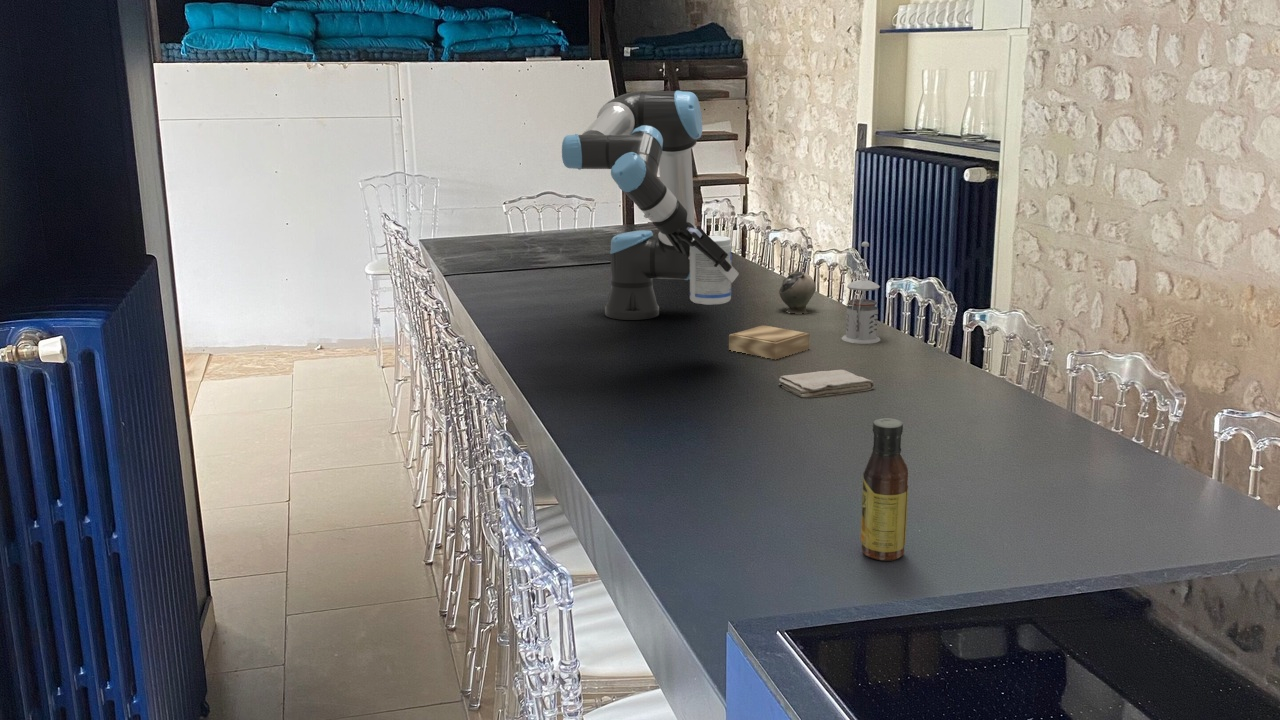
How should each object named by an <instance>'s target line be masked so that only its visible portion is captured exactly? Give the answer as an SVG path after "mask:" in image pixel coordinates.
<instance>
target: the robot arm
mask: <svg viewBox="0 0 1280 720" xmlns="http://www.w3.org/2000/svg"><path fill="white" fill-rule="evenodd" d="M700 104H701V103H700V101H699V98H698V96H697V95H696V94H695V93H694V92H691V91H681V90H675V91H672V90H671V91H670V90H669V91H666V90H665V91H664V90H663V91H662V90H660V91H658V90H657V91H653V90H652V91H641V90H637V91H636V90H635V91H630V92H628V93H624V94H621V95H618V96H617V97H614V98H612V99H611V100H609V101H607V102H606V103H605V104H603V106H601V108H600V109H599V110H598V112H597V115H596V119H595V120H594V121H593V122H592V123H591V124H590V125H589V126H588V127H587V128H586V130H585V131H584V132H582V134H578V133H575V134H567V135H565V136H564V137H563V140H562V142H561V160H562V163H563V165H564V167H565V168H566V169H567V168H568V169H572V170H573V169H574V170H575V169H576V170H577V169H578V170H579V171H581V170H610V176H611V178H612V179H613V181H614V182H615V183H616V185H617V186H618V188H619V189H620V190H621V191H622V192H624V193H625V194H626V195H627V197H628V198H629V199H630V200H631V201H632V202H633V203H634V204H635V205H636V206H637V208H638V209H639V210H640V211H641V212H642V213H643V214H644V215H643V217H644V218H645V219H649V221H650V222H652V225H653V226H655V228H656V229H657V230H658V231H659V232H658V236H655V235H654V233H653V231H652V230H650V229H649V230H645V229H644V230H635V231H627V232H622V233H618V234H616V235H614V236H613V237H612V238H611V239H610V251H609V254H610V291H609V295H608V297H607V302H606V304H605V307H604V315H605V317H608V318H609V319H610V318H611V319H613V320H620V321H621V320H624V321H639V320H649V319H653V318H657V317H659V315H660V306H659V304H658V303H657V298H656V293H655V290H654V287H653V286H654V284H653V281H654V279H655V280H656V279H661V280H685V281H688V280H690V246H692V247H693V246H695V247H696V248H697V249H699V250H700V251H701V252H702V253H704V254H705V255H706V256H707V257H709V258H710V259H711V260H712V261H714V262H715V264H714V266H715V267H717V268H718V269H719V270H720V271H721V272H722V274H723V275H724V276H725V277H726V278H727V279H728V280H729V282H731V284H733V282H734V281H735V280H736V279H737V277H738V276H739V274H740V273H739V271H737V269H735V267H734V266H733V265H732V263H731V264H730V263H729V262H728V261H727V259H726V257H727V256H728V254H727V253H726V252H725V251H724V250H723V249H722V248H721V247H719V246H718V245H717V244H716V243H715V242H714V241H713V240H712V239H711V238H710V237H709V236H710V235H708V234H707V233H706V232H705V231H704V229H702V227H701V226H698V225H697V226H696V219H695V217H696V216H695V203H694V202H695V201H694V200H695V199H694V182H693V181H694V180H693V163H692V161H693V159H692V149H694V147H695V146H696V145H697V143H698V142H697V140H698V139H700V138H701V137H702V134H703V122H702V121H703V117H702V116H703V115H702V108H701V105H700ZM658 171H659V173H658ZM658 174H659V177H658ZM693 239H695V240H694V241H693V242H691V241H692V240H693Z"/></svg>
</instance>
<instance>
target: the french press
mask: <svg viewBox="0 0 1280 720" xmlns="http://www.w3.org/2000/svg"><path fill="white" fill-rule="evenodd" d="M860 245H861V247H864V251H866V248H867V247H870V243H869V242H868V241H863V242H862V243H861V244H860ZM863 253H864V255H863V256H864V257H863V273H866V272H865V268H866V252H863ZM846 287H847V289H849V290H853V291H859V292H861V291H862V294H861V295H860V298H857V294H856V293H855V294H854V296H853V298H852V299H849V300H848V301H847V302H848V304H850V305H847V306H846V316H845V317H846V320H845V322H846V323H845V327H846V328H845V334H844V335H843V336H842V337H841V340H842V341H844V342H846V343H852V344H862V345H863V344H865V345H866V344H869V345H870V344H876V343H879V342H881V338H880V337H879V336H878V331H877V330H878V317H879V316H878V315H879V308H878V307H877V306H875V305H877V303H878V302H877V300H873V299H868V298H864V292H867V291H868V292H869V291H876V290H879V288H880V287H881V285H879V284H878V283H876V282H873V281H871V280H868V279H865V274H863V278H862V279H858V280H854V281H851V282H850V283H849V284H847V285H846Z"/></svg>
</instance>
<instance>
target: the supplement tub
mask: <svg viewBox="0 0 1280 720" xmlns="http://www.w3.org/2000/svg"><path fill="white" fill-rule="evenodd" d="M708 236H709V237H710V238H711V239H712V240H713V241H714V242H715V243H716V244H717V245H718V246H719V247H721V248H722V249H723V250H724V251H725V252H726V253H727V254H728V256H727V257H726V259H727V261H728V262H729V263H730V264H731V265H732V239H731V238H730V237H729V236H723V235H708ZM694 240H695V239H693V240H692V241H691V242H693V241H694ZM714 264H715V262H714V261H712V260H711V259H710V258H709V257H707V256H706V255H705V254H704V253H702V252H701V251H700V250H699V249H697V248H696V247H695V246H693V247H692V246H690V279H689V300H690V301H691V302H693V304H694V303H695V304H697V305H698V304H702V305H706V306H707V305H708V306H709V305H710V306H711V305H714V306H715V305H722V304H726V303H728V302H730V301H731V299H732V283H731V282H729V280H728V279H727V278H726V277H725V276H724V275H723V274H722V272H721V271H720V270H719V269H718V268H717V267H715V266H714Z"/></svg>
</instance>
